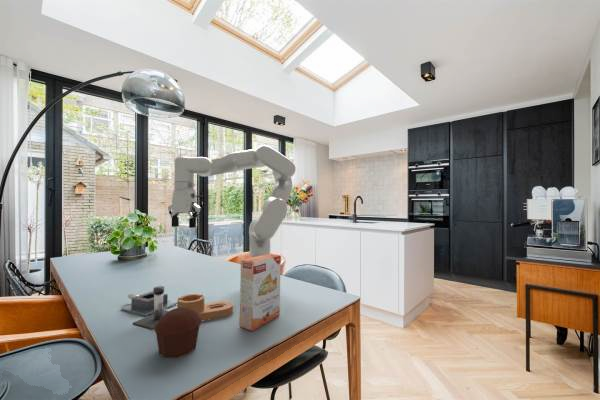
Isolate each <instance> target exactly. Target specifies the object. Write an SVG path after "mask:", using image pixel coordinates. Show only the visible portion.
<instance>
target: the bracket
mask: <svg viewBox="0 0 600 400" xmlns="http://www.w3.org/2000/svg"><path fill="white" fill-rule="evenodd" d="M176 302H177V305H176V308H181V307H186V308H190V309H192V310H194V311H195V312H196V313H197V314H198V315H199V316H200V317H201V322H203V321H202V320H207V321H209V320H208V319H212V320H215V319H214V318H217V319H220V318H219V317H222V318H225V317H224V316H226V317H229V316H230V314H231V315H232V314H233V313H234V303H233V302H231V301H228V300H220V301H219V300H218V301H213V302H209V303H207V302H206V303H205V296H204V294H201V293H189V294H185V295H184V294H183V295H181V296H180V297H178V298H177V301H176ZM228 315H229V316H228Z"/></svg>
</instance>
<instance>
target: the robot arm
mask: <svg viewBox="0 0 600 400" xmlns="http://www.w3.org/2000/svg"><path fill="white" fill-rule="evenodd" d="M262 167H267V168H269V169H270V170H271V171H272V172H271V173H272V176H273V177H274V182H275V184H274V187H273V188H272V190H271V192H270V193H269V195H268V196H267V197H266V199H265V201H264V202H263V205H262V213H261V215H260V216H259V217H257V218H255V219H253V220H252V221H251V222H250V224H249V226H248V236H249V238H248V239H249V256H248V258H252V257H257V256H261V255H265V254H271V239H272V238H273V237H274V236H275V234H276V233H277V231H278V230H279V228H280V226H281V224H282V222H283V221H284V219H285V217H286V215H287V212H288V204H287V201H288V200H289V197H290V195H291V193H292V191H293V181H292V180H293V179H292V177H293V176H294V175H295V173H296V165H295V163H294V162H293V160H291V159H290V158H288V157H287V156H285V155H283V153H281V152H279V151H277V150H276V149H274V148H273V147H271V146H269V145H267V144H264V145H262V144H261V145H260V146H258V147H257V148H252V149H247V150H239V151H234V152H230V153H228V154H226V155H225V156H220V157H216V158H208V157H204V156H197V157H189V156H177V157H175V159H174V172H173V174H174V183H173V184H174V185H173V186H174V188H173V192H172V196H171V197H172V199H171V204H170V205H169V206H167V210H168V214H169V216H170V218H171V228H175V227H176V228H177V227H179V226H180V223H179V219H180V218H179V215H180V214H188V216H189V218H188V228H189V229H190V228H191V229H193V228H196V227H197V219H198V216H199V215H200V213H201V212H200V211H201V209H202V208H201V207H200V205H198V200H197V192H196V190H195V188H194V187H195V186H196V184H195V181H194V179H195V174H197V175H198V176H200V177H210V176H211V177H212V176H217V175H221V174H228V173H235V172H239V171H243V170H244V171H245V170H250V169H255V168H262Z"/></svg>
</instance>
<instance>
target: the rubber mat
mask: <svg viewBox="0 0 600 400" xmlns="http://www.w3.org/2000/svg"><path fill="white" fill-rule="evenodd" d="M169 311H170V310H169ZM169 311H168V310H163V315H165V314H166V313H167V312H169ZM158 321H159V320H154V314H152V315H150V316H148V317H146V316H144V317H142V318H141V319H138V320H135V321H134V322H132V325H136V326H139V327H142V328H145V327H146V328H145V329H149V330H154V328H155V325H156V324H157V322H158Z"/></svg>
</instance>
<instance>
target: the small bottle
mask: <svg viewBox="0 0 600 400" xmlns="http://www.w3.org/2000/svg"><path fill="white" fill-rule="evenodd" d="M152 291H153V294H154V320H159V319H160V318H161V317H162V316H163V294H165V286H161V285H160V286H159V285H158V286H154V287H153V289H152Z"/></svg>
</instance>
